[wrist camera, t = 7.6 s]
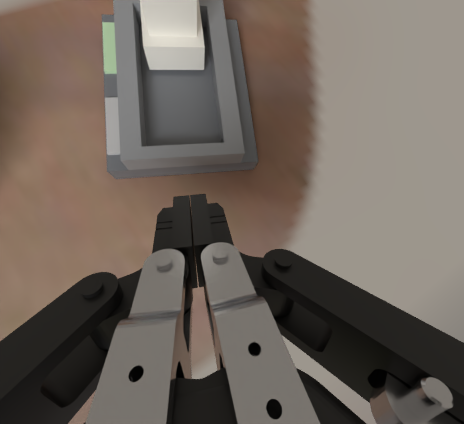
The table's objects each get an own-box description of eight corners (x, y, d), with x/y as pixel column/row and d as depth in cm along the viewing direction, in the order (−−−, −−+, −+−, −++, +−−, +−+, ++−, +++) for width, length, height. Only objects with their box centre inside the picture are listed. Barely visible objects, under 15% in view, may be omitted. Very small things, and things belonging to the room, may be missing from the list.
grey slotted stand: (115, 179, 16) (96, 162, 13) (109, 34, 18) (91, -10, 15) (253, 169, 17) (264, 152, 14) (233, 37, 19) (239, -2, 16)
